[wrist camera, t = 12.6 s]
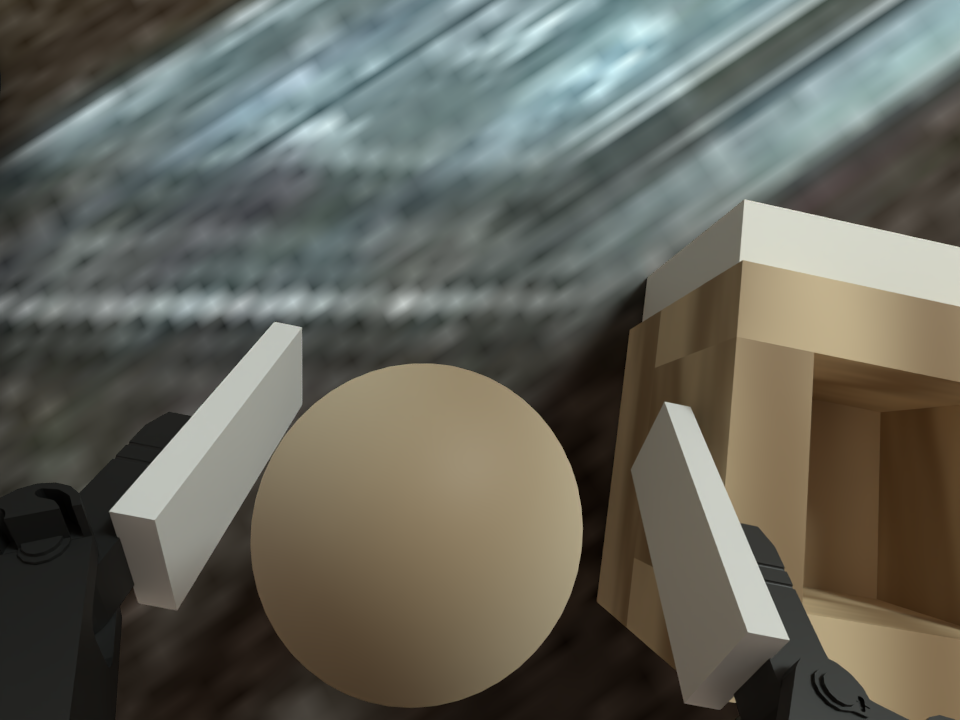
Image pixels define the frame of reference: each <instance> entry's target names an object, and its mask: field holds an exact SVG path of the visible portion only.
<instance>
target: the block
mask: <svg viewBox="0 0 960 720" xmlns="http://www.w3.org/2000/svg"><path fill="white" fill-rule="evenodd" d="M664 402H669V403H674V404H679V405H684V406H689V407H691V409H692V411H693V414H694V416H695V419H696V421H697V423H698V426H699V428H700V430H701V433H702V435H703V437H704V440H705V442H706V444H707V447H708V449H709V451H710V454H711V456H712V458H713V461H714V463H715V466H716V468H717V470H718V473H719V475H720V477H721V480H722V482H723V484H724V487H725V489H726V491H727V494H728V496H729V498H730V501H731V503H732V506H733V508H734V510H735V513H736V515H737V517H738V520H739V522H740V523H743V524H748V525H753V526H758V527H759V528H760V530H761V531H762V532H763V533H764V534H765V535H766V537H767V538H768V539H769V540H770V541H771V542H772V544H773V545H774V546H775V548H776V550H777V552H778V554H779V556H780V558H781V560H782V563H783V565H784V567H785V568H784V570H785V571H786V572H787V573H788V575H789V577H790V579H791V582H792V584H793V589H795V590H796V592H797V594H798V596H799V598H800V601H801V603H802V605H803V607H804V609H805V611H806V613H807V615H808V617H809V620H810V622H811V624H812V626H813V628H814V630H815V632H816V634H817V636H818V639H819V641H820V643H821V645H822V647H823V649H824V651H825V653H826V655H827V657H828V658H829V659H830V660H832V661H834V662H836V663H838V664H839V665H840V666H842V667H843V668H844V669H845V670H847V671H848V672H849V673H850V674H852V676H853V677H854V678H855V679H856V680H857V681H858V683H859V684H860V685H861V686H862V687H863V688H864V690H865V692H866V694H867V695H868V697H869V699H870V700H871V701H873V702H875V703H877V704H879V705H881V706H883V707H885V708H887V709H889V710H891V711H893V712H895V713H897V714H899V715H901V716H903V717H905V718H907V719H909V720H926V719H927V718H929V717H932V716H937V715H942V716H945V717H949V718H952V719H955V720H960V307H959V306H955V305H950V304H945V303H941V302H936V301H931V300H927V299H922V298H917V297H913V296H908V295H903V294H899V293H894V292H889V291H885V290H880V289H875V288H871V287H866V286H861V285H857V284H852V283H847V282H843V281H838V280H833V279H829V278H824V277H819V276H815V275H810V274H805V273H801V272H796V271H791V270H787V269H782V268H777V267H773V266H768V265H763V264H759V263H754V262H749V261H745V260H742V261H741V262H739V263H737V264H736V265H734V266H732V267H731V268H729V269H728V270H726V271H724V272H723V273H721V274H719V275H718V276H716V277H715V278H713V279H711V280H710V281H708V282H706V283H705V284H703V285H702V286H700V287H698V288H697V289H695V290H693V291H692V292H690V293H689V294H687V295H685V296H684V297H682V298H680V299H679V300H677V301H676V302H674V303H672V304H671V305H669V306H667V307H666V308H664V309H663V310H661V311H659V312H658V313H656V314H654V315H653V316H651V317H650V318H648V319H646V320H645V321H643V322H641V323H640V324H638V325H637V326H635V327H633V328H632V329H630V332H629V340H628V349H627V357H626V365H625V373H624V382H623V390H622V398H621V406H620V414H619V423H618V431H617V439H616V447H615V455H614V464H613V472H612V480H611V488H610V497H609V505H608V513H607V521H606V529H605V538H604V546H603V554H602V562H601V571H600V579H599V587H598V595H597V602H598V603H599V604H600V605H601V606H602V607H603V608H604V609H606V610H607V611H608V612H609V613H610V614H611V615H613V616H614V617H615V618H616V619H617V620H618V621H619V622H621V623H622V624H623V625H624V626H625V627H626V628H627V629H629V630H630V631H631V632H632V633H633V634H634V635H636V636H637V637H638V638H639V639H640V640H641V641H642V642H644V643H645V644H646V645H647V646H648V647H649V648H651V649H652V650H653V651H654V652H655V653H656V654H657V655H659V656H660V657H661V658H662V659H663V660H664V661H666V662H667V663H668V664H669V665H670V666H671V667H672V668H674V669H675V670H676V666H675V661H674V657H673V652H672V648H671V644H670V639H669V635H668V631H667V626H666V622H665V617H664V613H663V609H662V604H661V600H660V596H659V591H658V587H657V582H656V578H655V574H654V569H653V565H652V561H651V556H650V552H649V547H648V543H647V539H646V534H645V530H644V526H643V521H642V517H641V512H640V508H639V504H638V499H637V495H636V491H635V486H634V482H633V477H632V473H631V468H632V466H633V464H634V462H635V460H636V458H637V456H638V454H639V452H640V450H641V448H642V446H643V444H644V442H645V440H646V438H647V436H648V434H649V432H650V430H651V428H652V426H653V424H654V422H655V420H656V418H657V416H658V414H659V412H660V410H661V408H662V405H663V403H664ZM676 671H677V670H676ZM729 702H733V703H736V701H735V698H734V697H733V698H732V699H731V700H730V701H729Z"/></svg>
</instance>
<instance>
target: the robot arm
mask: <svg viewBox="0 0 960 720" xmlns="http://www.w3.org/2000/svg"><path fill="white" fill-rule="evenodd" d="M0 91H1V74H0ZM301 406H302V327H297V326H292V325H287V324H282V323H278V322H274V323H273V324H272V325H271V326H270V328H269V329H268V330H267V331H266V332H265V333H264V334H263V336H262V337H261V338H260V339H259V340H258V341H257V342H256V344H255V345H254V346H253V347H252V348H251V349H250V351H249V352H248V353H247V354H246V355H245V356H244V357H243V359H242V360H241V361H240V362H239V363H238V364H237V365H236V367H235V368H234V369H233V370H232V371H231V372H230V373H229V375H228V376H227V377H226V378H225V379H224V380H223V381H222V383H221V384H220V385H219V386H218V387H217V388H216V389H215V391H214V392H213V393H212V394H211V395H210V396H209V397H208V399H207V400H206V401H205V402H204V403H203V404H202V405H201V407H200V408H199V409H198V410H197V411H196V412H195V414H194V415H193V416H188V415H182V414H177V413H172V412H168V413H166V414H164V415H162V416H161V417H159V418H157V419H155V420H153V421H152V422H150V423H148V424H146V425H145V426H144V427H143V428H142V429H141V430H140V431H139V432H138V433H137V434H136V435H135V436H134V437H133V438H132V439H131V440H130V441H129V445H126V446H125V447H124V448H123V449H122V450H121V451H120V452H119V453H118V454H117V455H116V458H115V459H112V460H111V461H110V462H109V463H108V464H107V465H106V466H105V467H104V468H103V469H102V470H101V471H100V472H99V473H98V474H97V475H96V476H95V477H94V479H93V480H92V481H91V482H90V483H89V484H88V485H87V486H86V487H85V488H84V489H83V490H82V491H81V492H80V493H78V492H77V491H76V490H75V489H73V488H72V487H71V486H68V485H64V484H60V483H40V484H35V485H31V486H27V487H24V488H20V489H17V490H15V491H13V492H11V493H9V494H7V495H5V496H3V497H1V498H0V720H115V713H116V698H117V683H118V668H119V654H120V639H121V624H122V615H121V610H120V605H121V603H122V602H123V600H124V599H125V598H126V596H127V595H128V593H129V592H130V591H131V589H132V588H134V592H135V595H136V598H137V601H138V603H139V604H144V605H150V606H155V607H161V608H166V609H172V610H178V608H179V607H180V605H181V603H182V602H183V600H184V598H185V597H186V595H187V594H188V592H189V590H190V589H191V587H192V585H193V584H194V582H195V580H196V579H197V577H198V575H199V574H200V572H201V570H202V569H203V567H204V566H205V564H206V562H207V561H208V559H209V557H210V556H211V554H212V552H213V551H214V549H215V547H216V546H217V544H218V542H219V541H220V539H221V537H222V536H223V534H224V533H225V531H226V529H227V528H228V526H229V524H230V523H231V521H232V519H233V518H234V516H235V514H236V513H237V511H238V509H239V508H240V506H241V505H242V503H243V501H244V500H245V498H246V496H247V495H248V493H249V491H250V490H251V488H252V486H253V485H254V483H255V481H256V480H257V478H258V476H259V475H260V473H261V472H262V470H263V468H264V467H265V465H266V463H267V462H268V460H269V458H270V457H271V455H272V453H273V452H274V450H275V448H276V447H277V445H278V444H279V442H280V440H281V439H282V437H283V435H284V434H285V432H286V430H287V429H288V427H289V425H290V424H291V422H292V420H293V419H294V417H295V415H296V414H297V412H298V411H299V409H300V407H301ZM631 473H632V477H633V482H634V486H635V491H636V495H637V499H638V504H639V508H640V512H641V517H642V521H643V526H644V530H645V534H646V539H647V543H648V547H649V552H650V556H651V561H652V565H653V569H654V574H655V578H656V582H657V587H658V591H659V596H660V600H661V604H662V609H663V613H664V617H665V622H666V626H667V631H668V635H669V639H670V644H671V648H672V652H673V657H674V661H675V666H676V670H677V674H678V679H679V683H680V688H681V692H682V696H683V701H684V703H685V704H690V705H695V706H701V707H706V708H712V709H717V710H721V709H722V708H723V707H724V706H725V705H726V704H727V703H728V702H729V701H730V700H731V699H732V698H733V697H734V698H735V701H736V704H737V708H738V711H739V714H740V716H739V717H737V718H736V719H735V720H909V719H907V718H905V717H903V716H901V715H899V714H897V713H895V712H893V711H891V710H889V709H887V708H885V707H883V706H881V705H879V704H877V703H875V702H873V701H871V700H870V699H869V697H868V695H867V694H866V692H865V690H864V688H863V687H862V686H861V685H860V684H859V683H858V681H857V680H856V679H855V678H854V677H853V676H852V674H850V673H849V672H848V671H847V670H845V669H844V668H843V667H842V666H840V665H839V664H838V663H836V662H834V661H832V660H830V659H829V658H828V657H827V655H826V653H825V651H824V649H823V647H822V645H821V643H820V641H819V639H818V636H817V634H816V632H815V630H814V628H813V626H812V624H811V622H810V620H809V617H808V615H807V613H806V611H805V609H804V607H803V605H802V603H801V601H800V598H799V596H798V594H797V592H796V590H795V589H793V584H792V582H791V579H790V577H789V575H788V573H787V572H786V571H785V570H784V568H785V567H784V565H783V563H782V560H781V558H780V556H779V554H778V552H777V550H776V548H775V546H774V545H773V544H772V542H771V541H770V540H769V539H768V538H767V537H766V535H765V534H764V533H763V532H762V531H761V530H760V528H759V527H758V526H753V525H748V524H743V523H740V522H739V520H738V517H737V515H736V513H735V510H734V508H733V506H732V503H731V501H730V498H729V496H728V494H727V491H726V489H725V487H724V484H723V482H722V480H721V477H720V475H719V473H718V470H717V468H716V466H715V463H714V461H713V458H712V456H711V454H710V451H709V449H708V447H707V444H706V442H705V440H704V437H703V435H702V433H701V430H700V428H699V426H698V423H697V421H696V419H695V416H694V414H693V411H692V409H691V407H689V406H684V405H679V404H674V403H669V402H664V403H663V405H662V408H661V410H660V412H659V414H658V416H657V418H656V420H655V422H654V424H653V426H652V428H651V430H650V432H649V434H648V436H647V438H646V440H645V442H644V444H643V446H642V448H641V450H640V452H639V454H638V456H637V458H636V460H635V462H634V464H633V466H632V468H631ZM926 720H955V719H952V718H949V717H945V716H942V715H937V716H932V717H929V718H927V719H926Z"/></svg>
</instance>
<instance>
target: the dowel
mask: <svg viewBox="0 0 960 720" xmlns="http://www.w3.org/2000/svg"><path fill="white" fill-rule="evenodd" d="M582 535H583V523H582V508H581V502H580V497H579V491H578V486H577V483H576V480H575V477H574V474H573V471H572V467H571V465H570V463H569V461H568V458H567V456H566V454H565V452H564V450H563V448H562V446H561V444H560V443H559V441H558V439H557V438H556V436H555V435H554V433H553V431H552V430H551V429H550V427H549V426H548V425H547V424H546V422H545V421H544V420H543V419H542V418H541V416H540V415H539V414H538V413H537V412H536V411H535V410H534V409H533V408H532V407H531V406H530V405H529V404H528V403H526V402H525V401H524V400H523V399H522V398H520V397H519V396H518V395H516V394H515V393H514V392H512V391H511V390H510V389H508V388H507V387H505V386H503V385H501V384H499V383H498V382H496V381H494V380H492V379H490V378H488V377H485V376H483V375H480V374H478V373H475V372H473V371H470V370H466V369H462V368H458V367H454V366H448V365H439V364H406V365H399V366H391V367H387V368H383V369H380V370H376V371H372V372H369V373H367V374H364V375H362V376H359V377H357V378H355V379H352V380H350V381H348V382H346V383H345V384H343V385H341V386H339V387H338V388H336V389H334V390H332V391H331V392H330V393H328V394H327V395H326V396H324V397H323V398H322V399H320V400H319V401H318V402H316V403H315V404H314V405H313V406H312V407H311V408H309V409H308V410H307V411H306V412H305V413H304V414H303V415H302V416H301V417H300V418H299V419H298V420H297V421H296V423H295V424H294V425H293V426H292V428H291V429H290V430H289V431H288V433H287V434H286V435H285V436H284V438H283V439H282V441H281V443H280V444H279V446H278V447H277V449H276V451H275V452H274V454H273V456H272V457H271V460H270V462H269V464H268V466H267V468H266V471H265V473H264V475H263V477H262V480H261V484H260V487H259V490H258V493H257V496H256V500H255V505H254V511H253V517H252V523H251V545H250V546H251V557H252V569H253V573H254V578H255V582H256V587H257V591H258V594H259V597H260V599H261V602H262V605H263V608H264V610H265V613H266V615H267V617H268V619H269V621H270V622H271V624H272V626H273V628H274V630H275V632H276V633H277V635H278V636H279V638H280V639H281V640H282V642H283V643H284V644H285V646H286V647H287V648H288V650H289V651H290V653H291V654H292V655H293V656H294V657H295V658H296V659H297V660H298V661H299V662H300V663H301V664H302V665H303V666H304V667H305V668H306V669H307V670H309V671H310V672H311V673H313V674H314V675H315V676H317V677H318V678H319V679H321V680H322V681H323V682H325V683H326V684H328V685H330V686H332V687H334V688H335V689H337V690H339V691H341V692H343V693H345V694H347V695H350V696H352V697H355V698H358V699H361V700H363V701H366V702H370V703H375V704H380V705H385V706H389V707H405V708H418V707H429V706H438V705H442V704H446V703H451V702H455V701H459V700H462V699H464V698H467V697H469V696H472V695H475V694H477V693H480V692H482V691H484V690H485V689H487V688H489V687H491V686H493V685H494V684H496V683H498V682H500V681H501V680H503V679H504V678H505V677H507V676H508V675H509V674H511V673H512V672H513V671H515V670H516V669H518V668H519V667H520V666H521V665H522V664H523V663H524V662H525V661H526V660H527V659H528V658H529V657H530V656H531V655H532V654H533V653H534V652H535V651H536V650H537V649H538V648H539V646H540V645H541V644H542V643H543V641H544V640H545V639H546V638H547V637H548V635H549V634H550V632H551V631H552V629H553V628H554V626H555V624H556V623H557V621H558V619H559V618H560V616H561V615H562V612H563V610H564V608H565V606H566V604H567V601H568V599H569V597H570V595H571V592H572V589H573V586H574V582H575V579H576V576H577V573H578V568H579V562H580V557H581V551H582Z"/></svg>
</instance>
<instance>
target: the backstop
mask: <svg viewBox="0 0 960 720" xmlns="http://www.w3.org/2000/svg"><path fill="white" fill-rule="evenodd" d="M742 260H745V261H749V262H754V263H759V264H763V265H768V266H773V267H777V268H782V269H787V270H791V271H796V272H801V273H805V274H810V275H815V276H819V277H824V278H829V279H833V280H838V281H843V282H847V283H852V284H857V285H861V286H866V287H871V288H875V289H880V290H885V291H889V292H894V293H899V294H903V295H908V296H913V297H917V298H922V299H927V300H931V301H936V302H941V303H945V304H950V305H955V306H959V307H960V247H956V246H951V245H947V244H942V243H938V242H933V241H929V240H924V239H920V238H915V237H911V236H906V235H902V234H897V233H893V232H888V231H884V230H879V229H875V228H871V227H866V226H862V225H857V224H853V223H848V222H844V221H839V220H835V219H830V218H826V217H821V216H817V215H812V214H808V213H803V212H799V211H794V210H790V209H785V208H781V207H776V206H772V205H767V204H763V203H758V202H754V201H749V200H745V199H744V200H743V201H742V202H741V203H739V204H738V205H737V206H736V207H734V208H733V209H732V210H731V211H729V212H728V213H727V214H726V215H724V216H723V217H722V218H721V219H719V220H718V221H717V222H716V223H715V224H713V225H712V226H711V227H710V228H708V229H707V230H706V231H705V232H703V233H702V234H701V235H700V236H698V237H697V238H696V239H695V240H693V241H692V242H691V243H690V244H688V245H687V246H686V247H685V248H683V249H682V250H681V251H680V252H678V253H677V254H676V255H675V256H673V257H672V258H671V259H670V260H668V261H667V262H666V263H665V264H663V265H662V266H661V267H660V268H659V269H657V270H656V271H655V272H654V273H652V274H651V275H650V276H649V277H647V285H646V294H645V302H644V311H643V319H642V322H643V321H645V320H646V319H648V318H650V317H651V316H653V315H654V314H656V313H658V312H659V311H661V310H663V309H664V308H666V307H667V306H669V305H671V304H672V303H674V302H676V301H677V300H679V299H680V298H682V297H684V296H685V295H687V294H689V293H690V292H692V291H693V290H695V289H697V288H698V287H700V286H702V285H703V284H705V283H706V282H708V281H710V280H711V279H713V278H715V277H716V276H718V275H719V274H721V273H723V272H724V271H726V270H728V269H729V268H731V267H732V266H734V265H736V264H737V263H739V262H741V261H742Z"/></svg>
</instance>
